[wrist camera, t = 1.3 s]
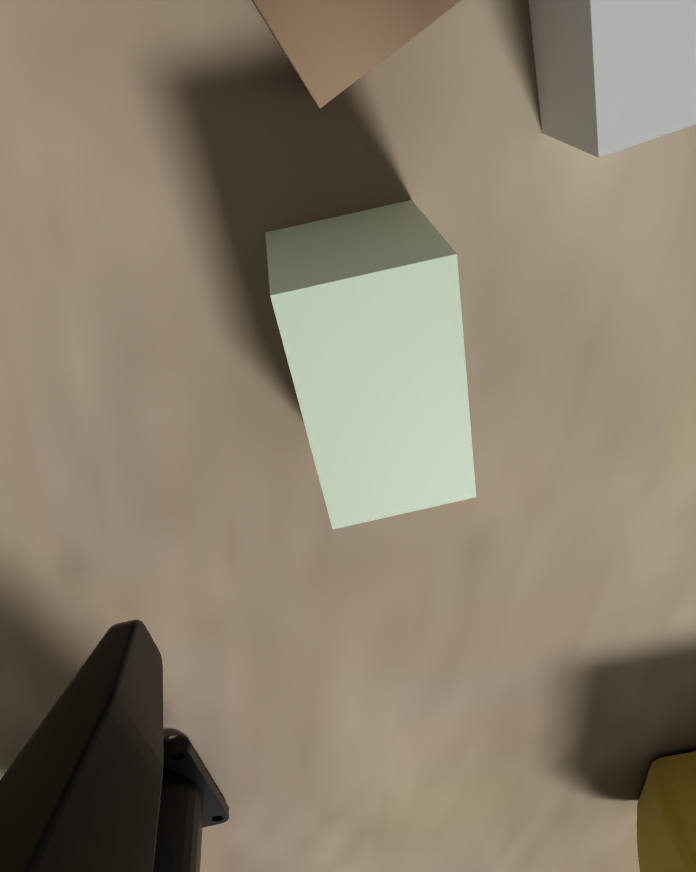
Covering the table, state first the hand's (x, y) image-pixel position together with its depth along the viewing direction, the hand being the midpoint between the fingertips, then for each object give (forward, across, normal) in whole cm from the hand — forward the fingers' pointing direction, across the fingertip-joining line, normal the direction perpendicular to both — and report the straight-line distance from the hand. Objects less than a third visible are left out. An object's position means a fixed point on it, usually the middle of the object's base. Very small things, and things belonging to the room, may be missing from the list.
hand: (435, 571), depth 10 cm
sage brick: (+8, 0, 0) cm, 9 cm away
